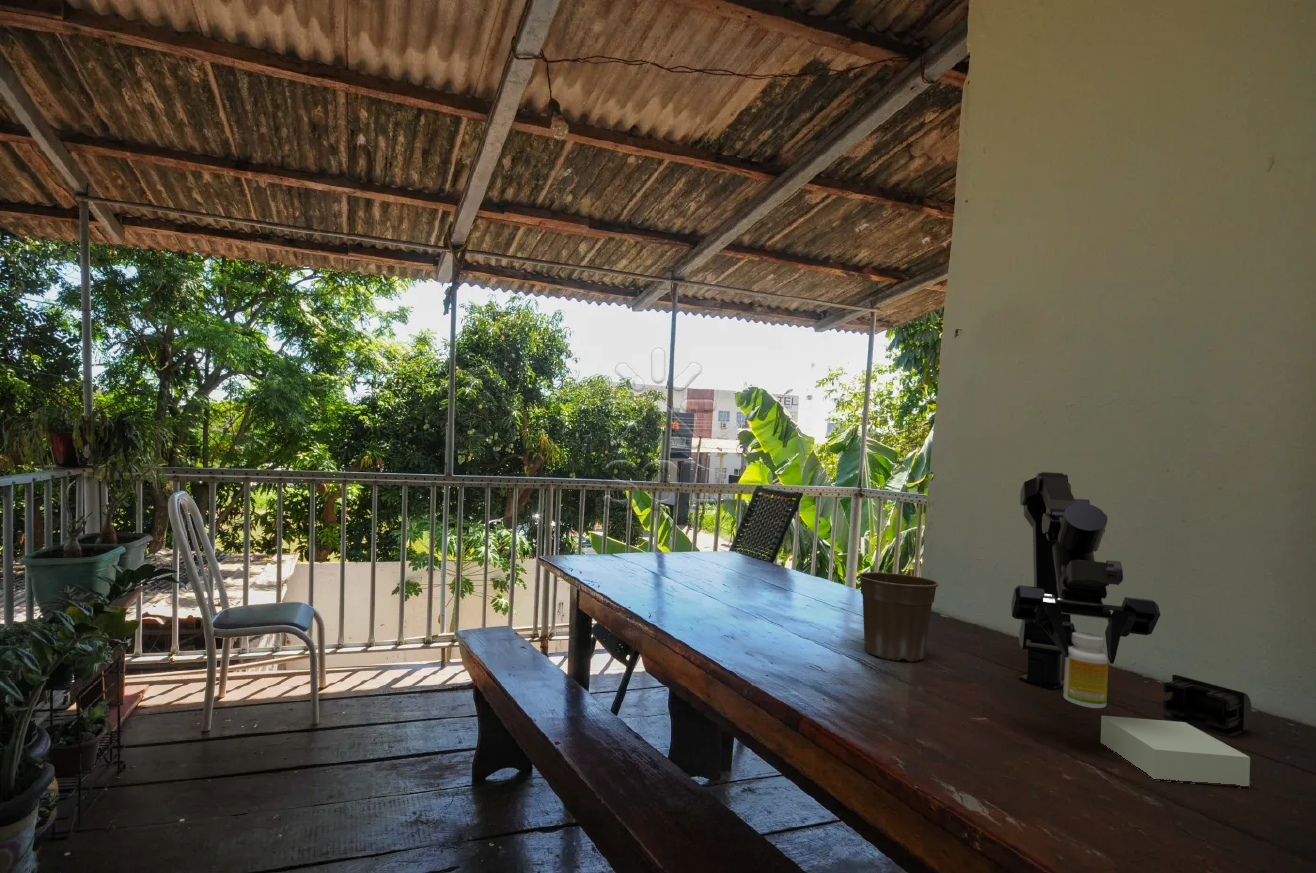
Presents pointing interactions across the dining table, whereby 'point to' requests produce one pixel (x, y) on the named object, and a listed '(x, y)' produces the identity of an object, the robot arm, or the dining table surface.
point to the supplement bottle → (1086, 671)
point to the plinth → (1174, 751)
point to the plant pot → (896, 614)
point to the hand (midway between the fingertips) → (1089, 658)
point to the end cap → (1207, 706)
